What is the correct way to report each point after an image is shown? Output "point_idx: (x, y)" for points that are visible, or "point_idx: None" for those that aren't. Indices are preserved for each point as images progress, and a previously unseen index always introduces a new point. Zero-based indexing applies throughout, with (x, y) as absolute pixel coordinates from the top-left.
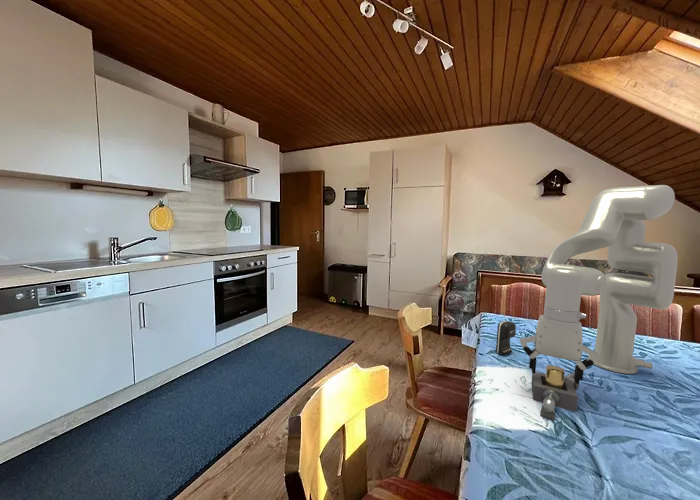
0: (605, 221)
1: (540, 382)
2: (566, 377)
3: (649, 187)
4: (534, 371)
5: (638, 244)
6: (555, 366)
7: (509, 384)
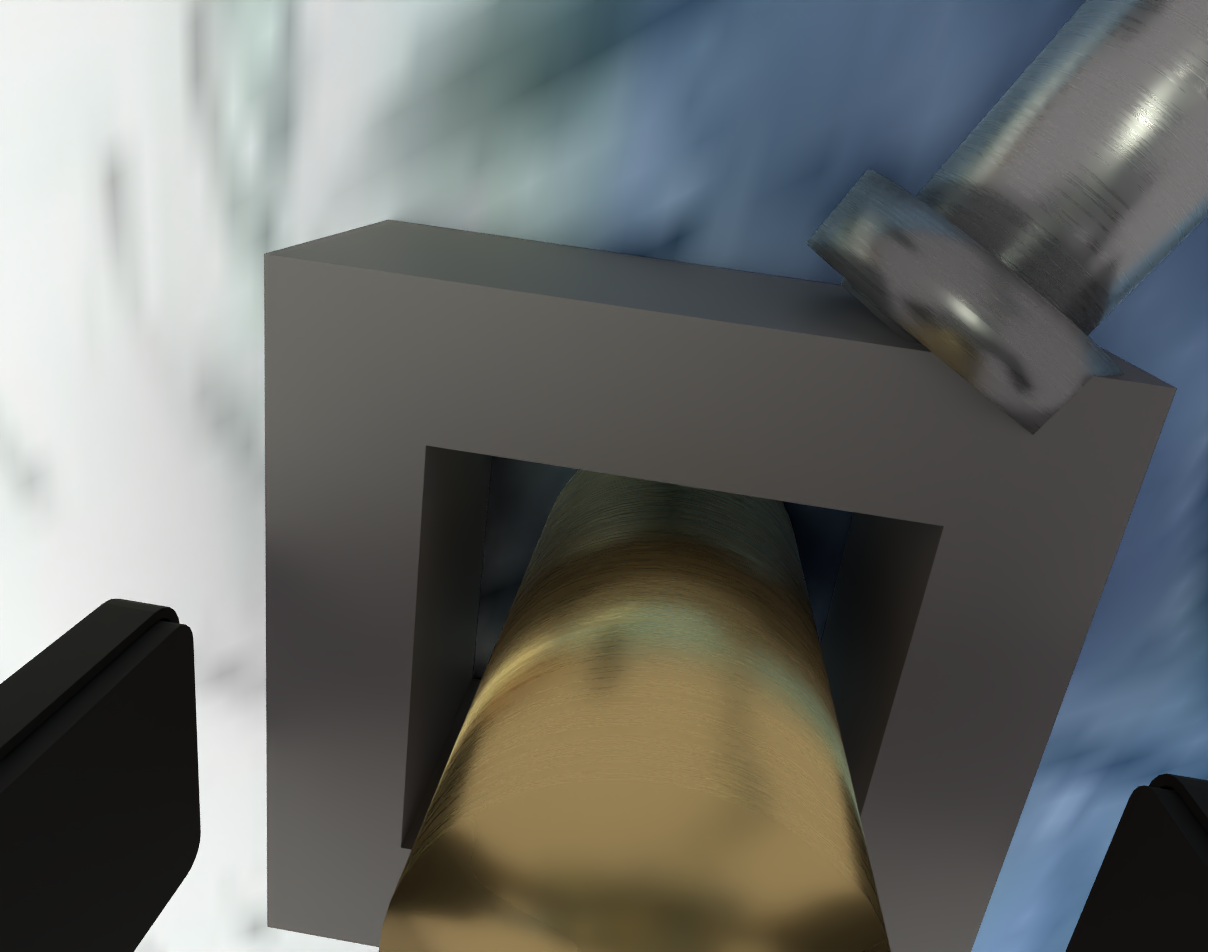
0: None
1: (383, 775)
2: (1130, 170)
3: None
4: (147, 912)
5: None
6: (682, 833)
7: (40, 409)
